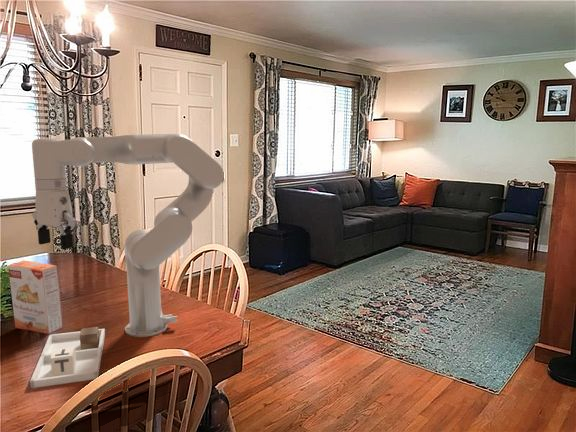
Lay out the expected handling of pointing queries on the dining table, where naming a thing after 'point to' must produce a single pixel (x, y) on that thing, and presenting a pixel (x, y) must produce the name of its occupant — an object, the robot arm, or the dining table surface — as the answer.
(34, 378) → the organizer
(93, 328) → the walnut block
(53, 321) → the cracker box
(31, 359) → the dining table surface
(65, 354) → the letter cube
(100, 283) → the dining table surface
